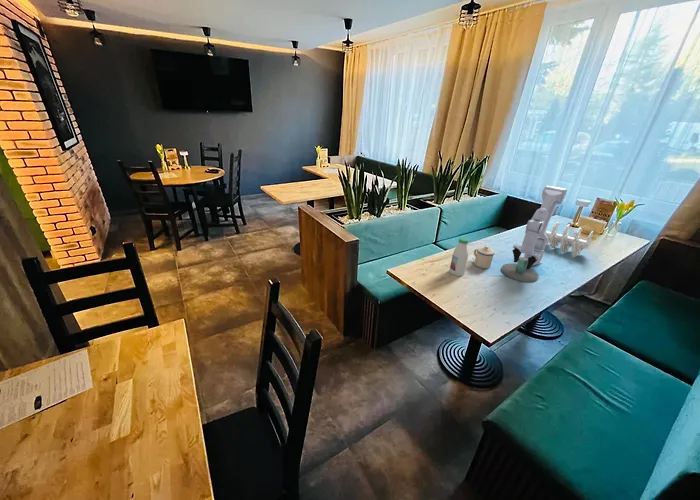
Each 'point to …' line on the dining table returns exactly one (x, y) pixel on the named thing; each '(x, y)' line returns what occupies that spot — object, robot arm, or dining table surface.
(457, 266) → the milk bottle
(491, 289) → the dining table surface
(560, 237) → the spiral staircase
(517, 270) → the pepper shaker
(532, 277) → the slate plate
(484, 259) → the teacup with lid
